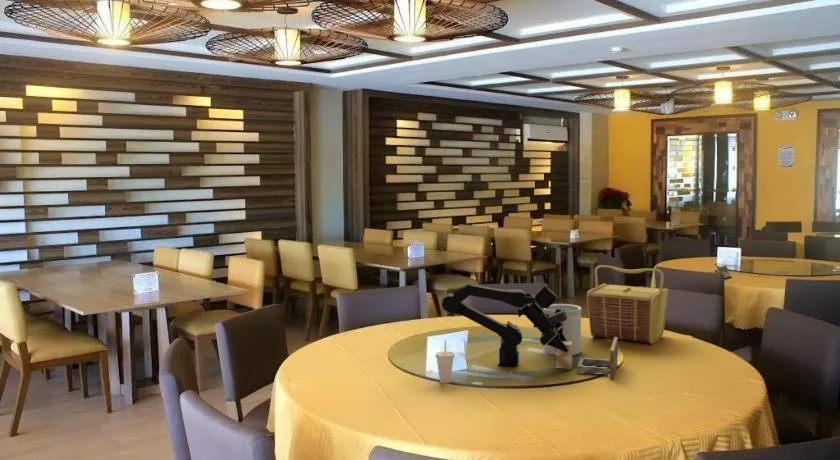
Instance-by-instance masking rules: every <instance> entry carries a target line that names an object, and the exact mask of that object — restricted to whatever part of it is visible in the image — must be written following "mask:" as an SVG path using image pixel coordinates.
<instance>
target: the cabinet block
mask: <svg viewBox="0 0 840 460" xmlns="http://www.w3.org/2000/svg"><path fill="white" fill-rule="evenodd" d="M562 342H563V343H564V345H565V346H566V347H567V349H568V351H567V352H564V351H562V350H559V349H557V348H555V351H556V355H555V356H556V357H555V359H556V361H555V363H556V365H555V366H556V367H555V369H556V368H567V369H572V367H573V355H572V342H569V341H562ZM567 369H566V370H567Z"/></svg>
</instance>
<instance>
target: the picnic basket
mask: <svg viewBox="0 0 840 460" xmlns="http://www.w3.org/2000/svg"><path fill="white" fill-rule="evenodd" d="M600 268H607V269H611V270H613V271H616V272H618V273H619V272H620V273H624V274H641V273H644V272H647V271H648V272H658V273H659V274H660V280H659V288H655V287H645V286H631V285H619V284H618V285H617V284H607V283H602V284H600V285H599V276H598V271H599V270H598V269H600ZM593 272H594V273H593V275H594V287H593V288H591V289H589V290H588V291H587V293H586V303H587V304H586V305H587V314H588V315H587V316H588V322H589V331H590V336H592V337H593V338H596V337H598V338H606V339H613V340H614V337H618V340H623V341H631V342H638V343H646V344H650V345H654V344H655V343H656V342H658V340H660V339H661V338H662V336H663V335H664V330H665V326H666V325H665V324H666V318H667V316H666V315H667V311H668V310H667V309H668V299H669V289H668V288H664V283H665V282H664V281H665V274H664V272H663V270H661V269H660V268H659V269H658V268H653V267H652V268H648V267H646V268H645V267H644V268H637V269H625V268H620V267H618V266H613V265H606V264H605V265H604V264H602V265H601V264H600V265H597V266H596V267H594V271H593Z"/></svg>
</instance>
